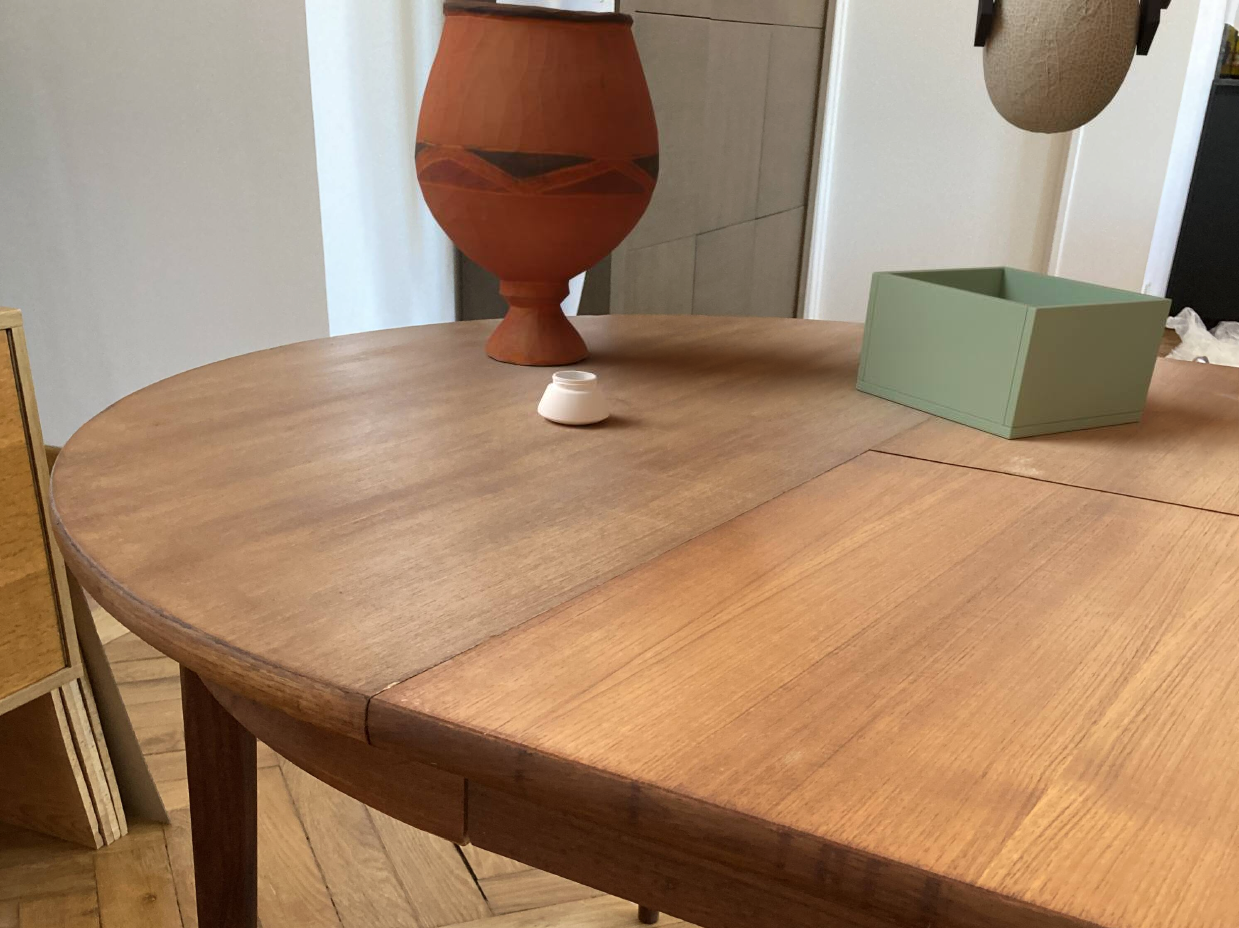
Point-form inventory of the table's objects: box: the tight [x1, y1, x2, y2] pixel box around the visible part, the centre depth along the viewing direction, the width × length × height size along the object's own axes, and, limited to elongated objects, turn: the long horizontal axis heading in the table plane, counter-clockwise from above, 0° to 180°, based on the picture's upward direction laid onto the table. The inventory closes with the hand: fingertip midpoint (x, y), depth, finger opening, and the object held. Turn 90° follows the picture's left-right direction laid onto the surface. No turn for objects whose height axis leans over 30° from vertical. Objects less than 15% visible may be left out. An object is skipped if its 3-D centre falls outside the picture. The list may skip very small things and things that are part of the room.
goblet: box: [414, 0, 660, 367], centre depth 100 cm, size 19×19×25 cm
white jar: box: [537, 370, 610, 426], centre depth 88 cm, size 5×3×5 cm
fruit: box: [982, 0, 1140, 135], centre depth 89 cm, size 10×12×15 cm
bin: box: [855, 265, 1173, 440], centre depth 97 cm, size 17×15×9 cm
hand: (1064, 35), depth 87 cm, fingers closed on fruit, 10 cm apart
